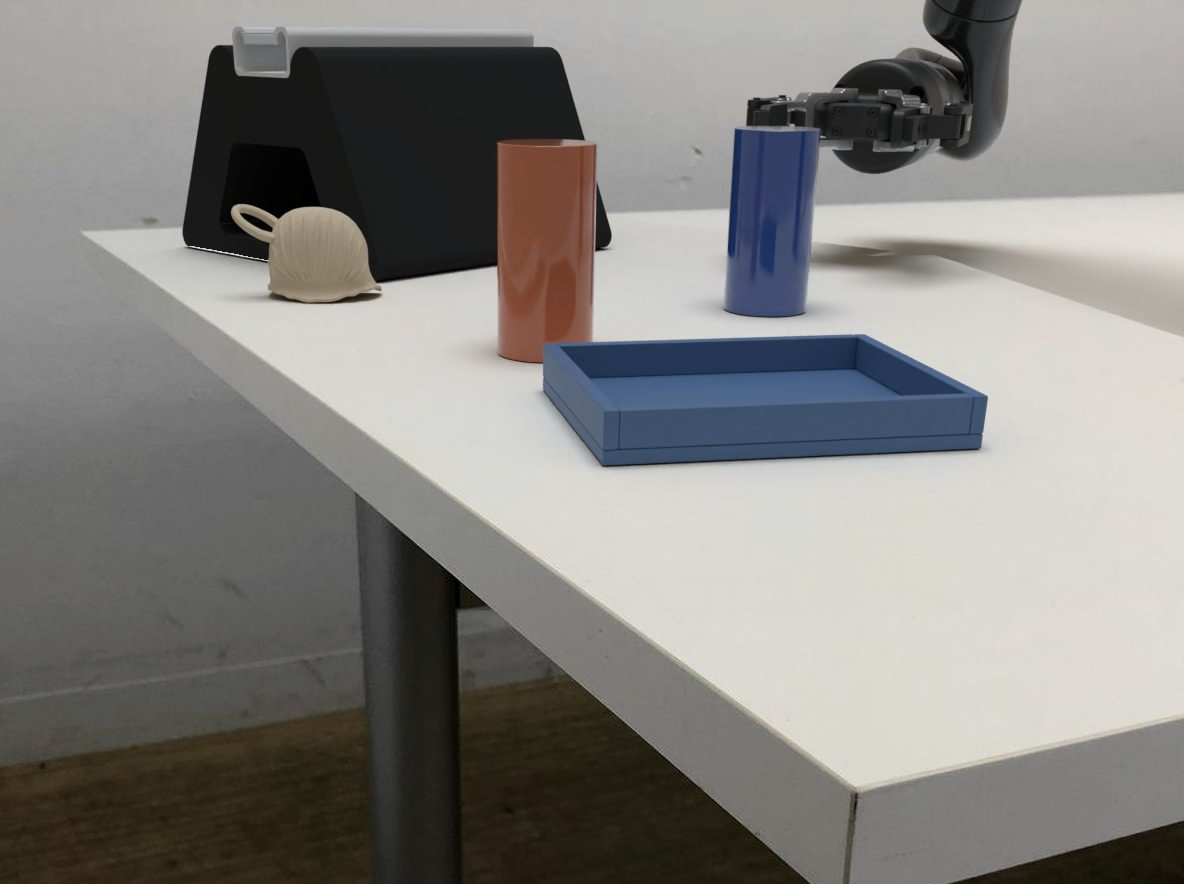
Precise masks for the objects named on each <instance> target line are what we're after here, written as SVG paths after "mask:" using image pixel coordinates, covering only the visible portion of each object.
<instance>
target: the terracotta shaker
mask: <svg viewBox="0 0 1184 884" xmlns="http://www.w3.org/2000/svg"><path fill="white" fill-rule="evenodd" d="M597 173H598V143H597V142H596V141H591V140H585V141H583V140H567V139H517V140H504V141H499V142H497V263H496V287H497V288H496V289H497V292H496V293H497V298H496V301H497V303H496V304H497V305H496V306H497V307H496V309H497V310H496V311H497V313H496V314H497V315H496V316H497V317H496V318H497V325H496V326H497V327H496V329H497V354H498V355H499V356H501V357H503V358H505V359H508V360H514V361H520V362H528V363H542V364H543V344H546V343H556V344H557V343H580V342H594V313H595V311H594V309H595V275H596V274H595V271H596V270H595V269H596V266H595V265H596V249H595V230H596V185H597V183H598V179H597V178H598V174H597Z"/></svg>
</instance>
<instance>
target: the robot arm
mask: <svg viewBox="0 0 1184 884" xmlns="http://www.w3.org/2000/svg"><path fill="white" fill-rule="evenodd" d="M1022 2H1023V0H925V1H924V5H923V10H922V24H923V27H924V29H925V31H926V33H928V35H929V36H930V37H931V38H932V39H933V40H934V41H935V42H937V43H938V44H940V45H941V46H942V47H944V48H945V49H946V50H948V51H949V52H950V53H952V54H953V55H954V56H955V57H956V58H957V59H958V60H956V59H954V58H951V57H948V56H946V55H943V54H940V53H938V52H935V51H932V50H929V49H925V48H923V47H922V48H921V47H907V48H905V49H903V50H901V51H900V52H899V53H897V54H896V55H895V57H892V58H878V59H871V60H867V61H864V62H861V63H858V64H857V65H855V66H854V67H852V68H851V69H849V70H848V71H846V72H845V73H844V74H843V75H842V76H841V77H840V79H838V80H837V82H836V84H835V85H834V86H833V88H832V89H831V90H830V91H820V92H819V91H814V92H813V91H809V92H806V91H805V92H804V91H802V92H799V93H798V94H797V95H796V97H795V98H794V99H793V98H792V97H790V96H789V97H788V96H787V95H786V94H778V96H772V97H757V96H755V97H752V99H751V98H750V99H747V105H746V118H745V126H791V125H793V126H797V127H811V128H819V129H821V136H820V148H827V149H829V150H831V151H832V153H833V154H834V155H835V156H836V158H837V159H838V160H839V161H840V162H841V163H843V164H844V165H846V166H847V167H848V168H850V169H851V170H854V171H856V172H859V173H863V174H867V175H868V174H869V175H881V174H886V173H889V172H893V171H896V170H899V169H902V168H905V167H908V166H911V165H914V164H916V163H918V162H920V161H922V160H924V158H926V157H928V156H929V155H933V154H937V155H939V156H941V157H944V158H947V159H950V160H952V161H956V162H962V163H963V162H965V163H966V162H971V161H973V160H976V159H978V158H980V157H981V156H983V155H984V154H985V153H986V152H988V151H989V150H990V149H991V148H992V146H993V145H994V144H995V143H996V141H997V140H998V138H999V136H1000V134H1001V131H1002V130H1003V126H1004V123H1005V119H1006V114H1007V111H1008V104H1009V103H1008V102H1009V87H1010V84H1009V83H1010V82H1009V81H1010V62H1011V61H1010V58H1011V50H1012V40H1013V34H1014V29H1015V25H1016V21H1017V17H1018V15H1019V12H1020V9H1021V7H1022V4H1023V3H1022Z"/></svg>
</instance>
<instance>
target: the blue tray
mask: <svg viewBox="0 0 1184 884" xmlns="http://www.w3.org/2000/svg"><path fill="white" fill-rule="evenodd" d="M542 377H543V378H542V390H543V391H544V393H545V394H546V396H547V397H548V398H549V400H550V401H552V403H553V404H554V405H555V406H556V408H557V409H558V410H559V412H560V413H561V414H562V416H563V417H564V418H565V419H566V421H567V423H569V424H570V425H571V427H572V428H573V429H574V431H575V432H576V433H577V435H578V436H579V437H580V438H581V440H582V441H583V443H585V445H586V446H587V447H588V448H589V450H590V451H591V452H592V453H593V455H594V456H595V457H596V458H597V460H598V461H599V462H600V464H601V465H602V466H623V465H644V464H665V463H668V464H669V463H689V462H710V461H729V460H730V461H732V460H733V461H734V460H736V461H737V460H754V459H776V458H777V459H778V458H780V459H781V458H799V457H820V456H822V455H823V456H843V455H865V454H866V455H867V454H886V453H888V454H889V453H907V452H909V453H910V452H911V453H912V452H929V451H932V452H933V451H950V450H952V451H953V450H974V449H975V450H976V449H981V448H982V444H983V438H984V437H983V436H984V434H983V433H984V431H985V422H986V416H987V407H988V401H989V396H988V395H987V394H984V393H983V392H980V391H979V390H976V389H974V388H972V387H970V386H969V385H966V384H965V383H962V382H960V381H958V380H956V379H955V378H953V377H951V376H949V375H947V374H945V373H943V372H941V371H939V370H937V369H935V368H932V367H931V366H929V365H927V364H925V363H923V362H921V361H919V360H917V359H915V358H914V357H911V356H909V355H907V354H905V353H903V352H901V351H899V350H897V349H895V348H893V347H891V346H890V345H888V344H885V343H883V342H881V341H879V340H877V339H876V338H873V337H871V336H870V335H867V334H865V333H860V334H859V333H857V334H856V333H855V334H853V333H851V334H850V333H849V334H819V335H818V334H816V335H788V336H787V335H786V336H781V335H780V336H755V337H753V336H751V337H750V336H749V337H747V336H746V337H721V338H719V337H718V338H716V337H715V338H714V337H713V338H686V339H685V338H683V339H653V340H651V339H650V340H648V339H647V340H621V341H620V340H619V341H616V340H615V341H593V342H580V343H557V344H556V343H546V344H543V363H542Z"/></svg>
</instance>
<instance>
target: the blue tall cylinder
mask: <svg viewBox="0 0 1184 884" xmlns="http://www.w3.org/2000/svg"><path fill="white" fill-rule="evenodd" d="M821 137H822V136H821V129H819V128H811V127H797V126H794V125H793V126H792V125H790V126H746V125H744V126H743V125H741V126H735V127H734V128H733V139H732V140H733V141H732V142H733V143H732V159H731V174H730V175H731V176H730V192H729V208H728V227H727V242H726V243H727V244H726V259H725V260H726V261H725V274H724V275H725V276H724V277H725V278H724V295H723V309H724V311H726V312H729V313H732V314H735V315H736V314H737V315H742V316H748V317H749V316H750V317H767V318H768V317H769V318H773V317H774V318H779V317H792V316H798V315H802V314H804V313H806V311H807V303H808V292H809V291H808V290H809V279H810V267H811V254H812V244H813V243H812V242H813V233H814V232H813V231H814V219H815V218H814V217H815V208H816V207H815V206H816V196H817V195H816V194H817V182H818V169H819V158H820V148H821V147H820V138H821Z"/></svg>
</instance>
